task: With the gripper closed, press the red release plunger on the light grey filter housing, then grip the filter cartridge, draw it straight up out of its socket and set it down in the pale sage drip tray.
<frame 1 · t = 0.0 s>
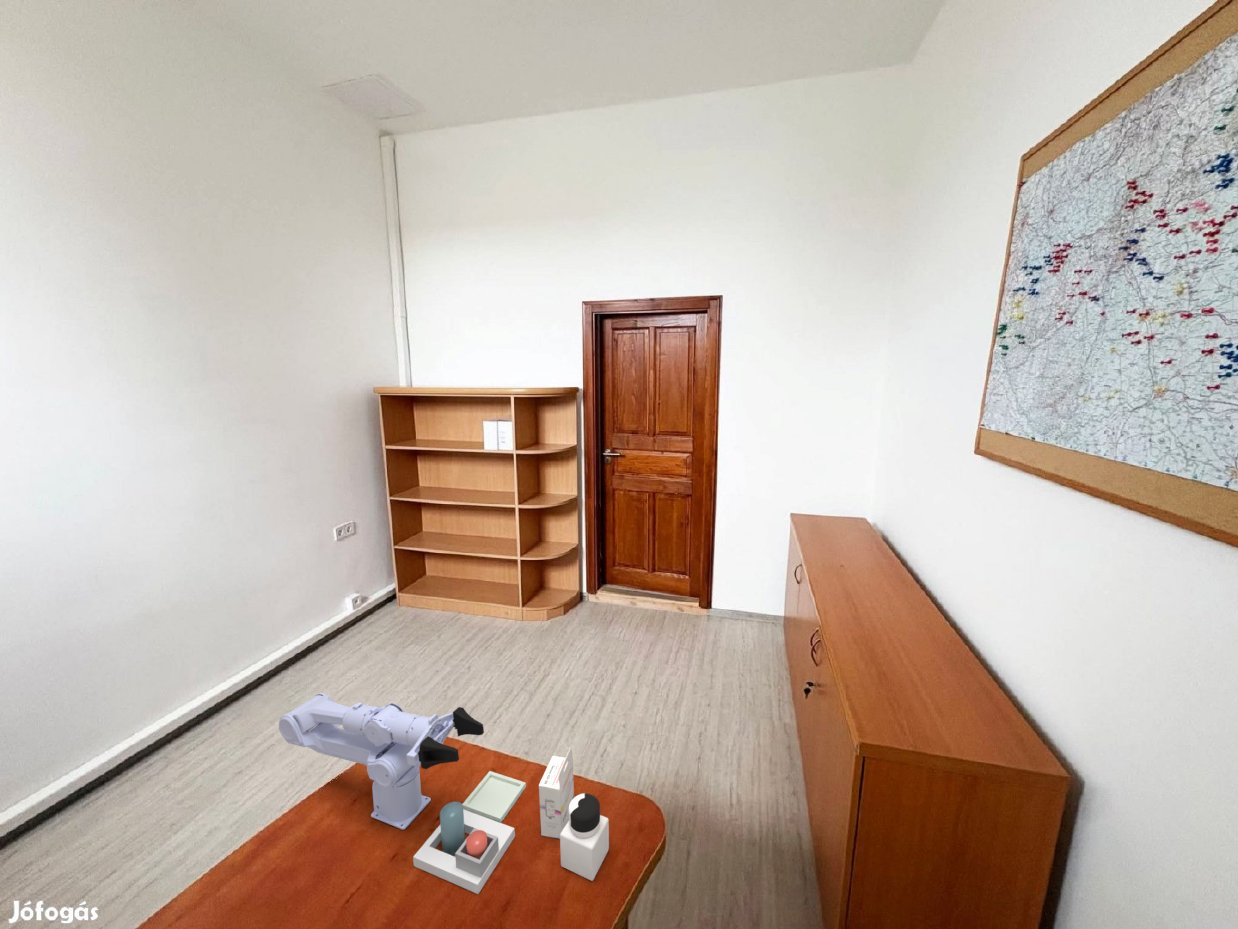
hand: (470, 742, 92), 22 cm above the table, tool horizontal, fingers open, 7 cm apart
medicine bottle: (585, 858, 91), on the table
release plunger: (477, 845, 89), point 5 cm above the table, slide at 0.0 cm
ink cartridge box: (557, 821, 99), on the table
filter cartridge: (453, 846, 94), resting in filter housing
filter housing: (465, 851, 93), on the table
drip tray: (495, 798, 105), on the table
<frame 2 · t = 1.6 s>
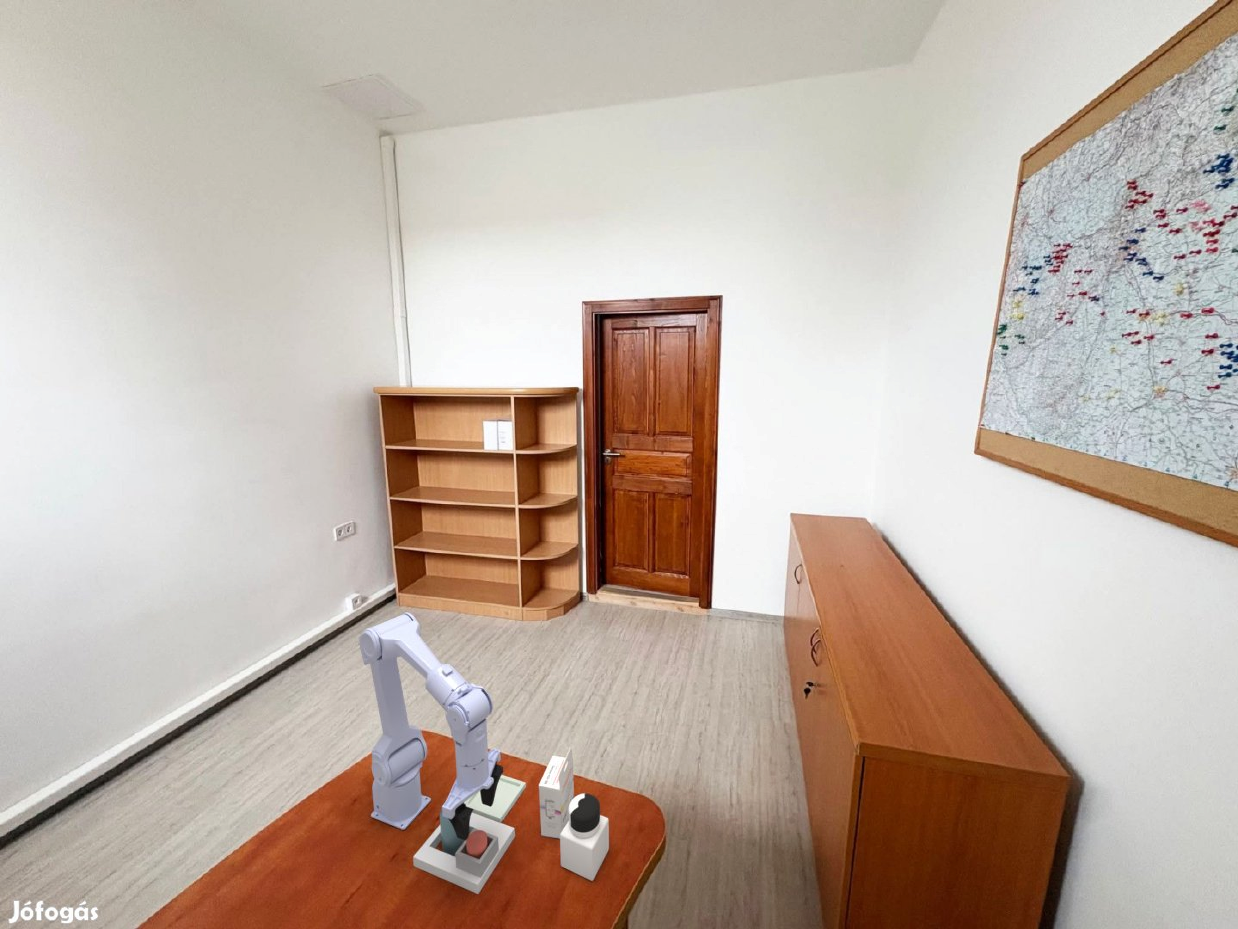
hand: (475, 820, 88), 10 cm above the table, tool pointing down, fingers open, 7 cm apart
nothing on the table moved.
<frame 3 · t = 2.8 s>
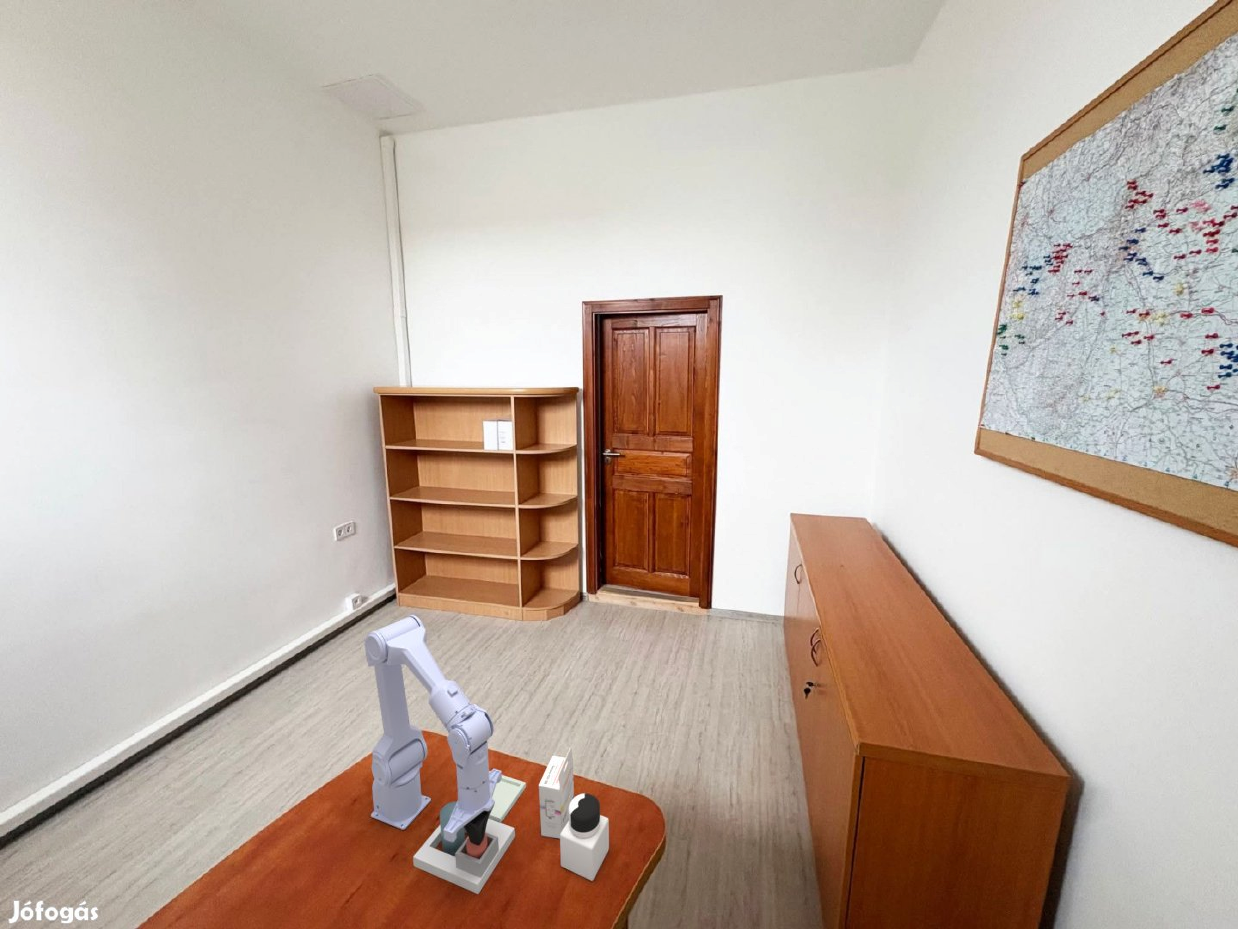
hand: (477, 841, 88), 6 cm above the table, tool pointing down, fingers closed, pressing on release plunger
release plunger: (477, 847, 89), point 5 cm above the table, slide at 0.4 cm, touching gripper
everything else where it was.
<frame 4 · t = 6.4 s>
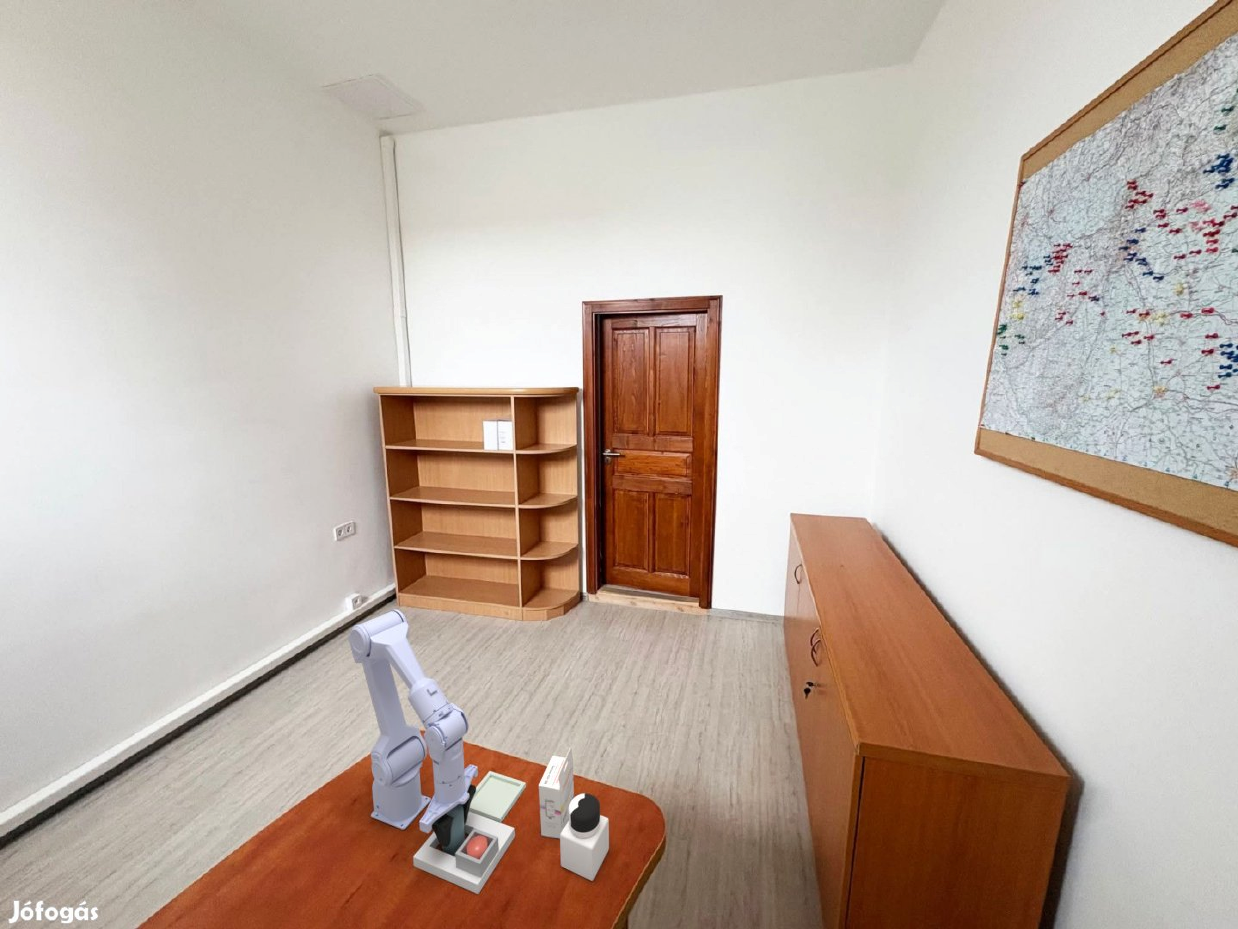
hand: (453, 833, 93), 3 cm above the table, tool pointing down, fingers closed on filter cartridge, 4 cm apart
release plunger: (477, 851, 89), point 4 cm above the table, slide at 1.2 cm
filter cartridge: (453, 846, 94), resting in filter housing, touching gripper
everything else where it was.
when the fingers open (5 cm above the table, at t = 10.6 s): filter cartridge drops 1 cm, resting on drip tray.
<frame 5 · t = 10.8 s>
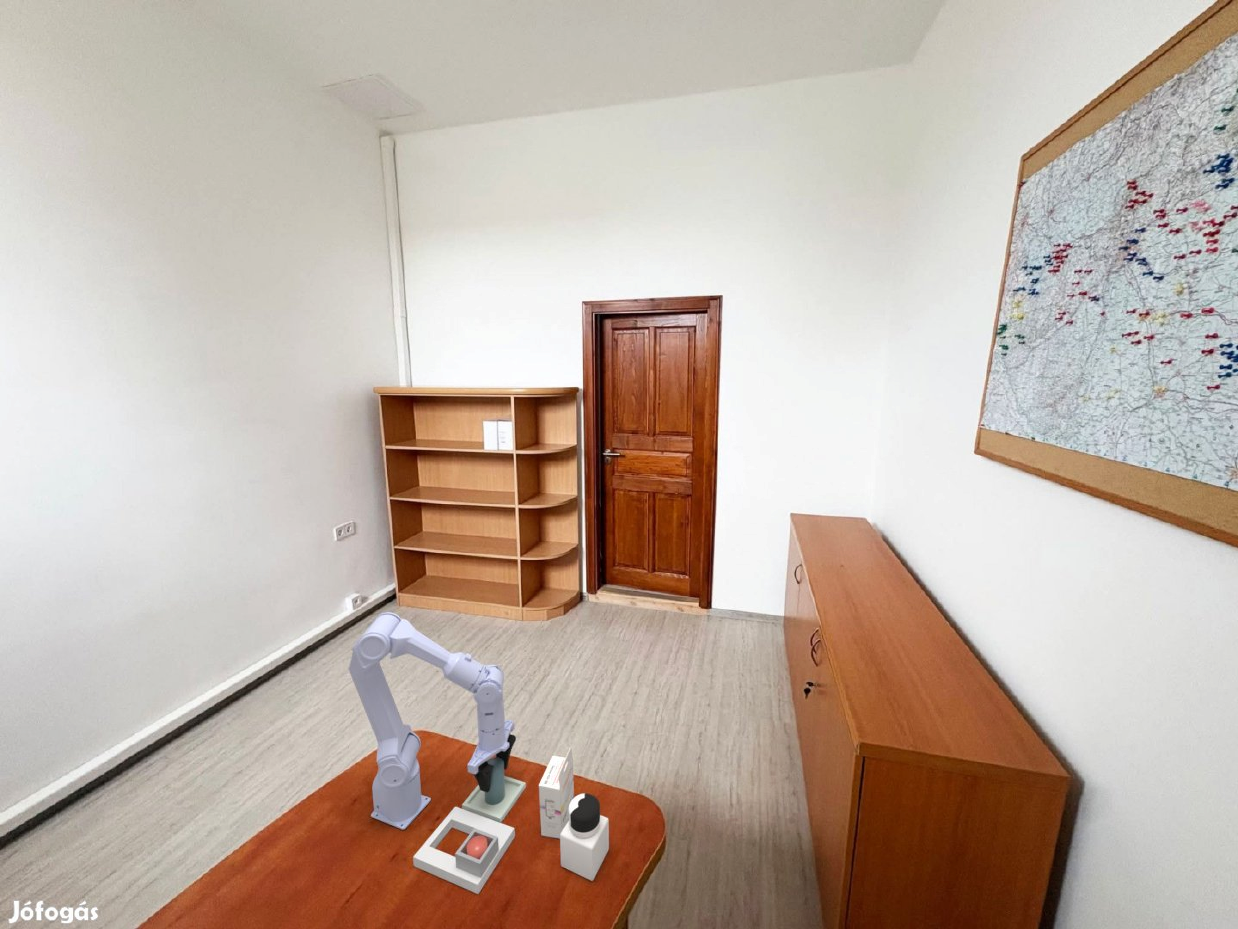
hand: (494, 778, 104), 5 cm above the table, tool pointing down, fingers open, 6 cm apart
filter cartridge: (495, 796, 105), resting on drip tray
everything else where it was.
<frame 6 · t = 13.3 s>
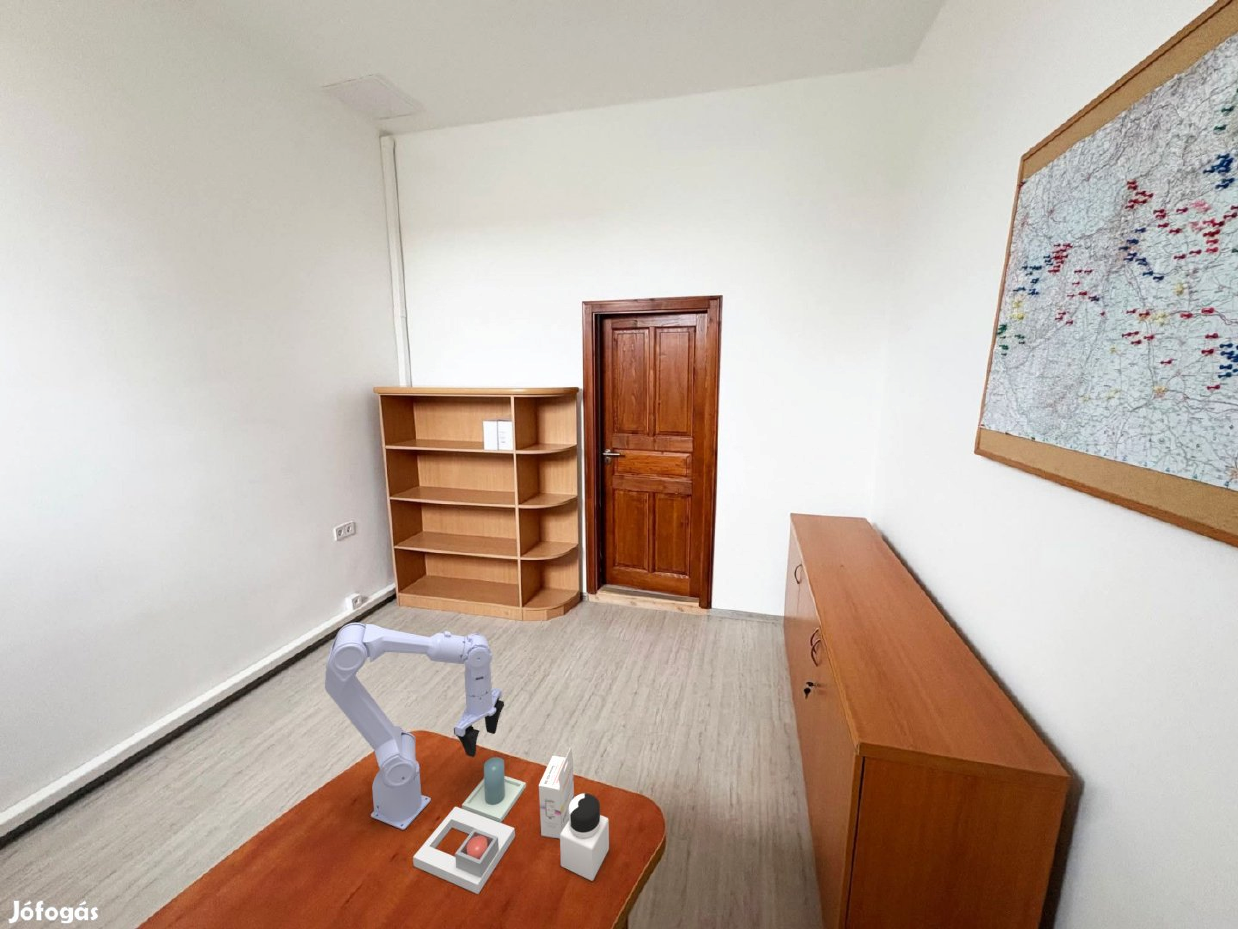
hand: (481, 743, 108), 10 cm above the table, tool pointing down, fingers open, 7 cm apart
nothing on the table moved.
at the end: release plunger slide at 1.2 cm; filter cartridge 0.0 cm off-centre on the drip tray, point 0.4 cm above the drip tray's base; filter cartridge tilted 1° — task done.
